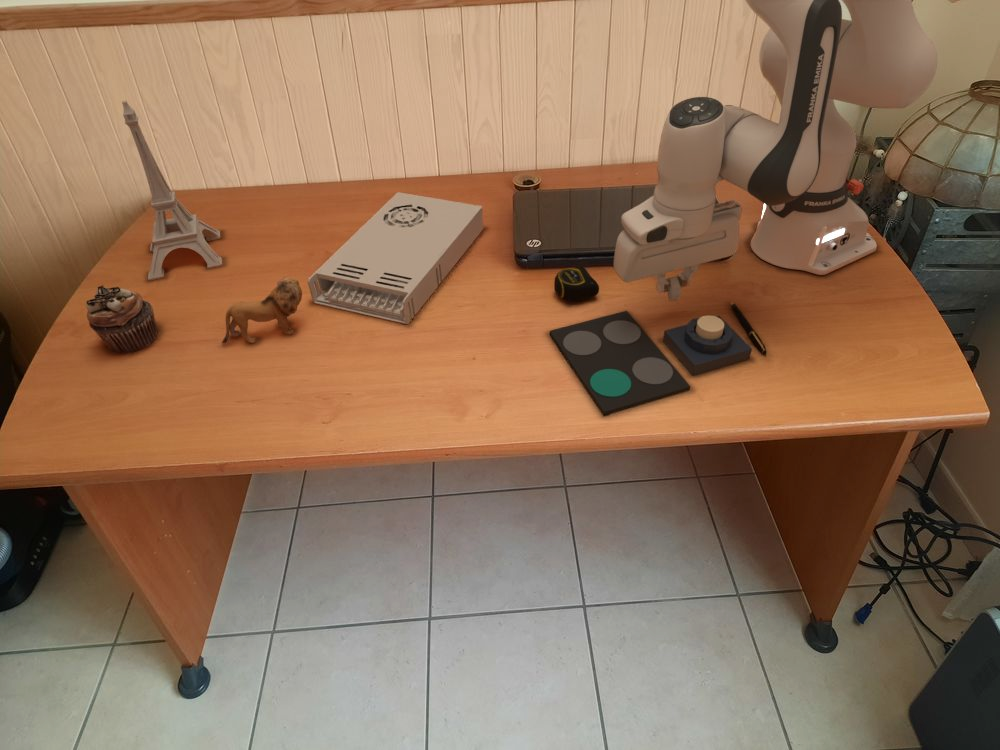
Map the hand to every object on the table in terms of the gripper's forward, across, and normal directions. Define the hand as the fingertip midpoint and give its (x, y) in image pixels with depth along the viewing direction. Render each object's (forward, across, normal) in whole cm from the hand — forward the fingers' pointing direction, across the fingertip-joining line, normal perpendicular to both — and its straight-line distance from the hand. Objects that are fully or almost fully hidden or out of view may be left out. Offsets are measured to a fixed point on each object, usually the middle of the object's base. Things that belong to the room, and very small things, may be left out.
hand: (672, 287), depth 113 cm
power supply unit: (+5, +38, -31) cm, 50 cm away
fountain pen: (+5, -9, +9) cm, 14 cm away
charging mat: (+4, +14, +8) cm, 16 cm away
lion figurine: (+4, +64, -20) cm, 67 cm away
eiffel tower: (+4, +78, -51) cm, 93 cm away
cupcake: (+3, +86, -26) cm, 90 cm away
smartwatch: (+2, 0, 0) cm, 2 cm away
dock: (+5, 0, +11) cm, 12 cm away
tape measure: (+5, +12, -11) cm, 17 cm away
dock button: (+1, -1, +11) cm, 11 cm away
